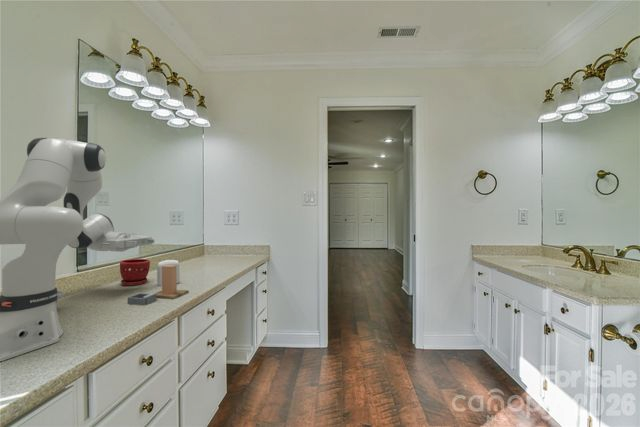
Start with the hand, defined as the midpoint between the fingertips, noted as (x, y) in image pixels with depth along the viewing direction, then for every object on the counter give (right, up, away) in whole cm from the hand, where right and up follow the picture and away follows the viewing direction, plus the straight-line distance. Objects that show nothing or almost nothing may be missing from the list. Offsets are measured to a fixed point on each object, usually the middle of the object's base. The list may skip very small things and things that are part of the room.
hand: (145, 242), depth 134 cm
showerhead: (-23, -24, -24) cm, 41 cm away
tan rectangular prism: (+12, -22, -2) cm, 25 cm away
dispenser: (+6, -23, -12) cm, 27 cm away
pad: (+12, -23, -2) cm, 26 cm away
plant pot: (-16, -23, +19) cm, 34 cm away
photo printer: (+2, -23, +17) cm, 29 cm away
